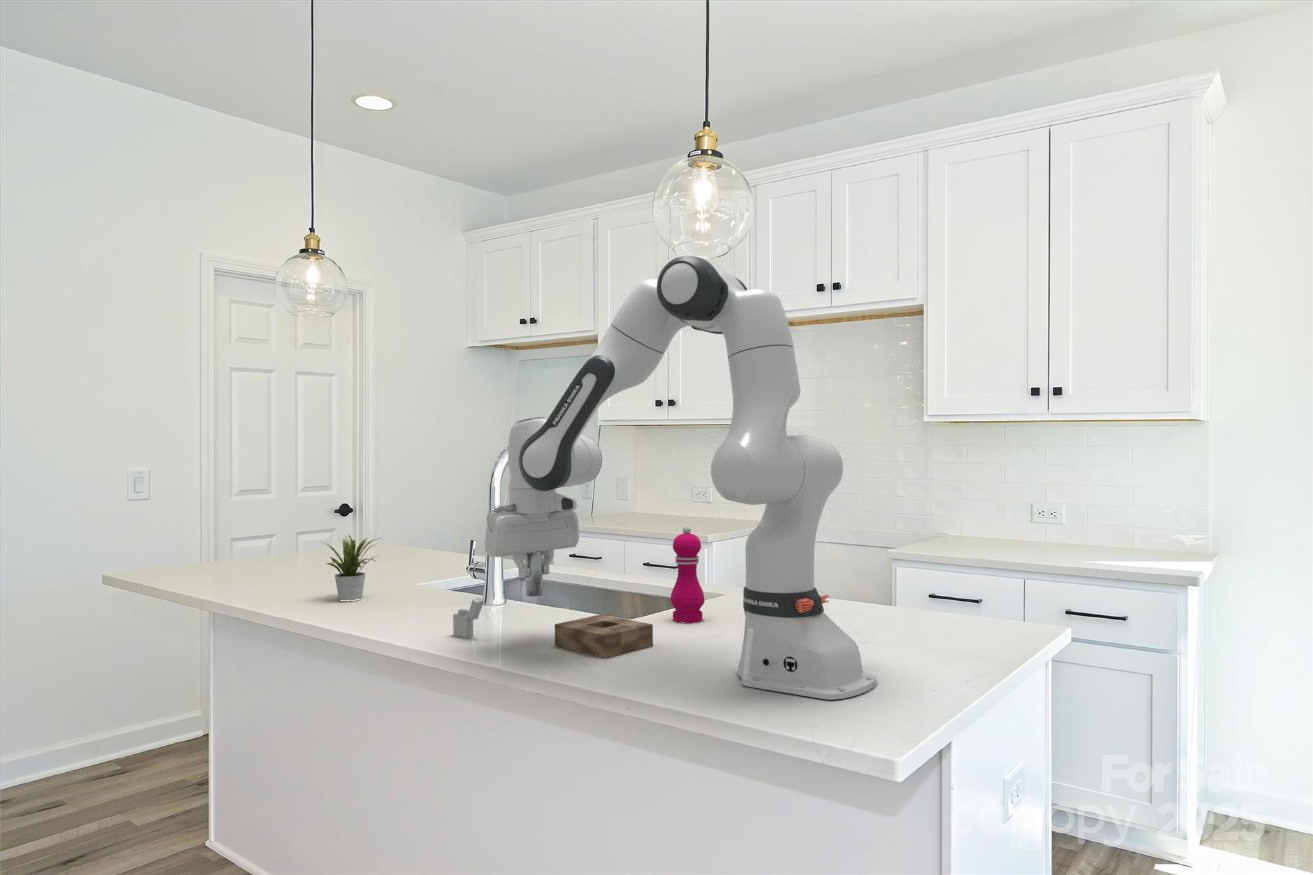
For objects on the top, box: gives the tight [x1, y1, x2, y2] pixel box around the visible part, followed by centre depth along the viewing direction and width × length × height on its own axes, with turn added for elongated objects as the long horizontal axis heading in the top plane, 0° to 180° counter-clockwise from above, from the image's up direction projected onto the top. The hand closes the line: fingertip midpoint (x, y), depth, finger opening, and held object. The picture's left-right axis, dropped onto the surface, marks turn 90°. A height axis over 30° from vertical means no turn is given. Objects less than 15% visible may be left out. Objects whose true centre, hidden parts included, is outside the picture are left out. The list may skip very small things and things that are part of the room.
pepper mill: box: [670, 525, 706, 624], centre depth 182 cm, size 7×7×20 cm
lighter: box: [452, 597, 484, 640], centre depth 169 cm, size 7×2×8 cm, turn 55°
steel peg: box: [524, 551, 544, 597], centre depth 163 cm, size 3×3×10 cm
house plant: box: [321, 533, 382, 600], centre depth 209 cm, size 14×14×16 cm
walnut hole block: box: [554, 614, 654, 659], centre depth 161 cm, size 14×12×4 cm
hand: (534, 575), depth 163 cm, fingers closed on steel peg, 3 cm apart
